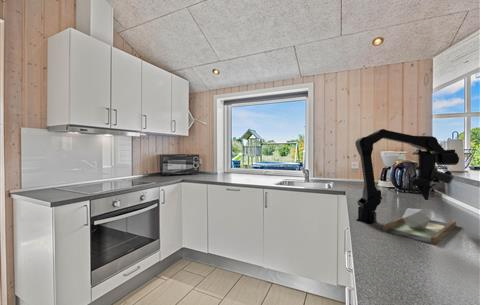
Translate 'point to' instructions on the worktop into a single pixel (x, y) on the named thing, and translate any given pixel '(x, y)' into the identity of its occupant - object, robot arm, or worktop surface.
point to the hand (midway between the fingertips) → (426, 199)
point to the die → (416, 218)
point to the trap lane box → (420, 230)
